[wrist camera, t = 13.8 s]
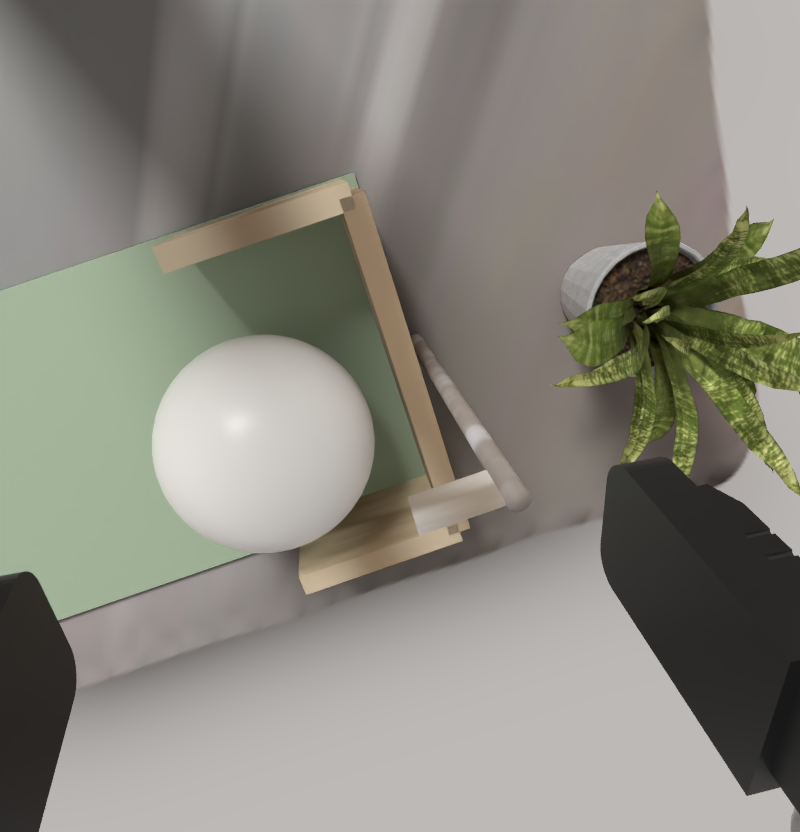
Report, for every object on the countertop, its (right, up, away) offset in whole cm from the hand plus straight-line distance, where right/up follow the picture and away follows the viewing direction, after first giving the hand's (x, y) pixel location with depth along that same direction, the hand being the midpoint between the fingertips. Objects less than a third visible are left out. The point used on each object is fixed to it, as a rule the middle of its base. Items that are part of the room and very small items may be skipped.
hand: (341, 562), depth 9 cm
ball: (-6, +1, +24) cm, 25 cm away
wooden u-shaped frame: (-3, +5, +29) cm, 30 cm away
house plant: (+12, +9, +30) cm, 34 cm away
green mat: (-12, +2, +29) cm, 32 cm away
